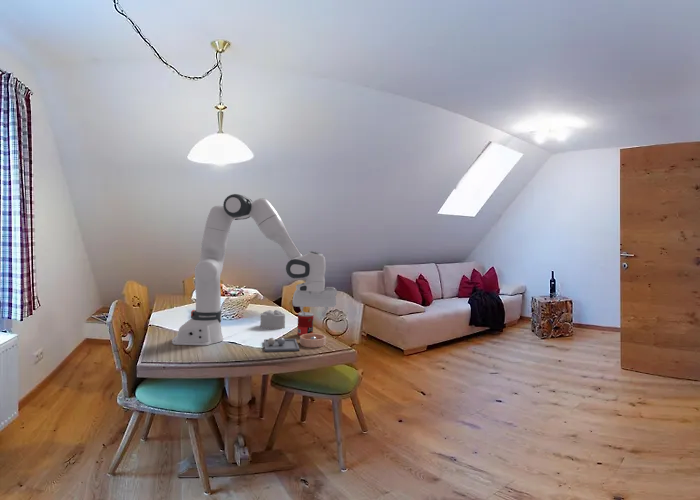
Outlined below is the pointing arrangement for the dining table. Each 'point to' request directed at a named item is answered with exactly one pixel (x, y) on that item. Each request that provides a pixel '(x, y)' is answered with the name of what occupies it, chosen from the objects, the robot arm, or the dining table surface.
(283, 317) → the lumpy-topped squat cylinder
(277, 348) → the tray
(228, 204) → the robot arm
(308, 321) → the canned food
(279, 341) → the pebble
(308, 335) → the bowl
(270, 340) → the pebble
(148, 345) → the dining table surface
